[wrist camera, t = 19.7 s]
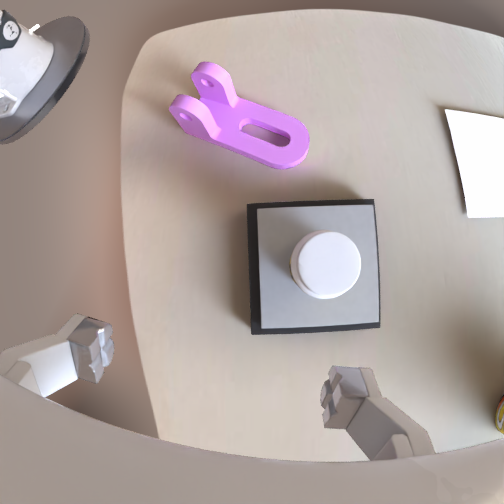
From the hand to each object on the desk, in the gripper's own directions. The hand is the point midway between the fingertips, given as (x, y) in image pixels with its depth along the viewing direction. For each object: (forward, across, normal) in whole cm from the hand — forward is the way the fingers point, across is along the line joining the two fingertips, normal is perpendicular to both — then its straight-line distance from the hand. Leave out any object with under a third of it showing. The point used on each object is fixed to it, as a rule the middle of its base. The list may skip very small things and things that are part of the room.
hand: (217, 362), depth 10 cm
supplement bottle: (+17, -6, +2) cm, 18 cm away
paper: (+22, -34, -13) cm, 42 cm away
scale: (+19, -7, +3) cm, 20 cm away
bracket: (+25, +2, -8) cm, 27 cm away
